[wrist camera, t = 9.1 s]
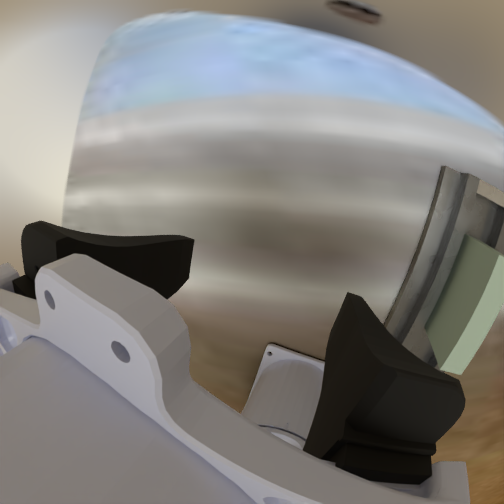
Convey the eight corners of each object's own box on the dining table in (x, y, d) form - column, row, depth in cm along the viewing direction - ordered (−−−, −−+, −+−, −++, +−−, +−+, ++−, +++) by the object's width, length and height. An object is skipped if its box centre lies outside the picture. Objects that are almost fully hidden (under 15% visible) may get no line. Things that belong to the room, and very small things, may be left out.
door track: (420, 395, 21) (424, 411, 19) (354, 377, 23) (352, 395, 21) (514, 204, 14) (529, 209, 12) (441, 166, 16) (453, 165, 14)
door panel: (441, 330, 18) (461, 374, 13) (423, 324, 19) (439, 369, 13) (481, 241, 16) (519, 265, 10) (463, 232, 16) (499, 254, 11)
